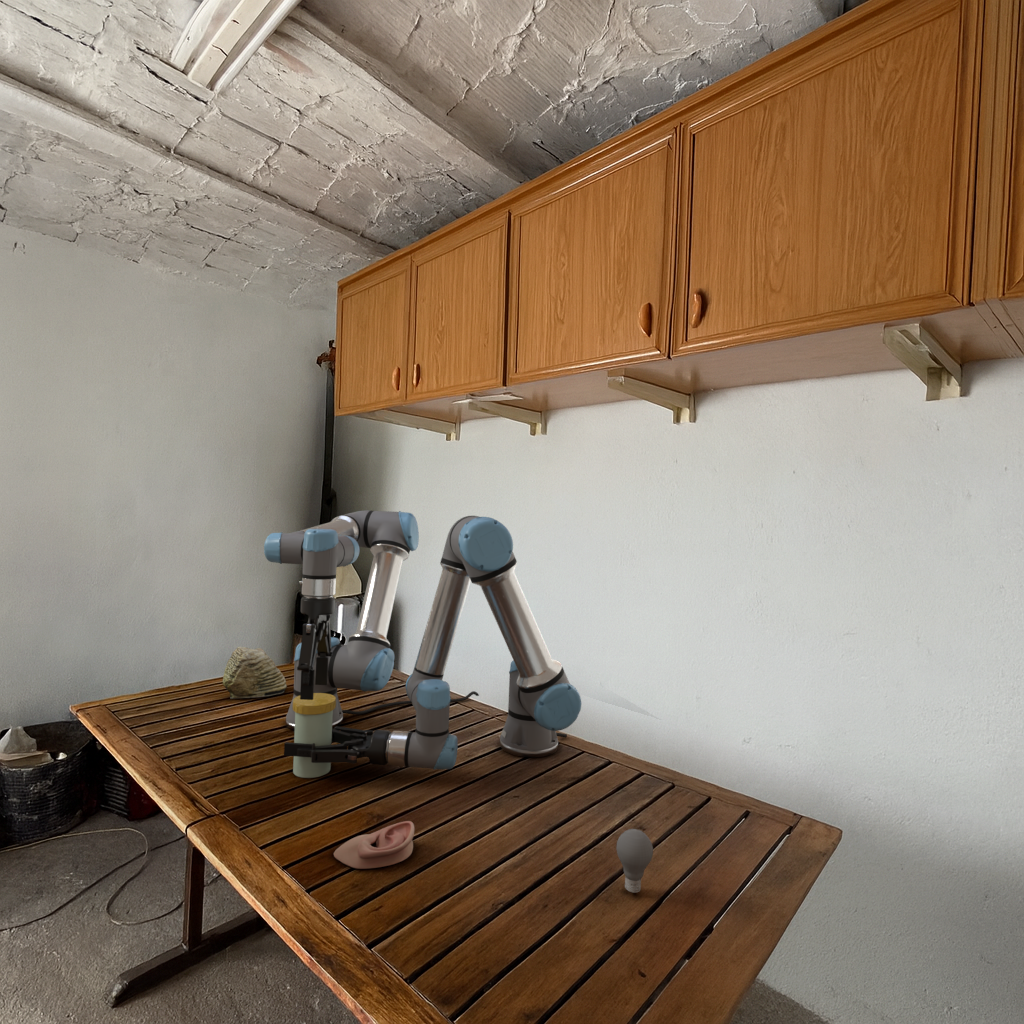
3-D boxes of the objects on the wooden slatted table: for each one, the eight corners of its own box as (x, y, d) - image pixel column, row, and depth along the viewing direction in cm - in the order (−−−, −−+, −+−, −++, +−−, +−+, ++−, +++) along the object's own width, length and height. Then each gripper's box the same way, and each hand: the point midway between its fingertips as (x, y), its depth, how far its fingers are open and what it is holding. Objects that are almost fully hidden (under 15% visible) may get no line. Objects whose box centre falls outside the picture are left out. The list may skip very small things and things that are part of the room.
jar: (317, 759, 152) (320, 693, 152) (337, 770, 147) (340, 701, 147) (286, 769, 146) (288, 700, 146) (305, 781, 141) (308, 709, 140)
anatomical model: (325, 840, 109) (355, 809, 121) (324, 863, 109) (354, 830, 121) (398, 852, 107) (421, 819, 118) (397, 876, 107) (420, 840, 118)
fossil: (218, 695, 195) (220, 647, 195) (278, 685, 208) (279, 640, 207) (228, 703, 189) (230, 653, 188) (289, 692, 201) (290, 645, 201)
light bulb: (610, 879, 108) (613, 822, 108) (644, 879, 109) (647, 822, 109) (619, 902, 102) (622, 840, 102) (655, 901, 103) (658, 840, 103)
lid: (320, 698, 153) (321, 690, 153) (343, 708, 147) (344, 699, 147) (284, 707, 146) (284, 698, 146) (307, 718, 139) (307, 708, 139)
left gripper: (316, 588, 157) (312, 677, 157) (284, 603, 134) (280, 706, 134) (346, 590, 157) (343, 678, 157) (320, 604, 134) (316, 708, 134)
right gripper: (376, 784, 135) (272, 777, 136) (399, 746, 156) (309, 740, 157) (377, 749, 135) (273, 742, 136) (401, 716, 156) (311, 710, 157)
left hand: (314, 691), depth 146 cm, fingers open, 11 cm apart
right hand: (293, 741), depth 147 cm, fingers closed on jar, 8 cm apart
